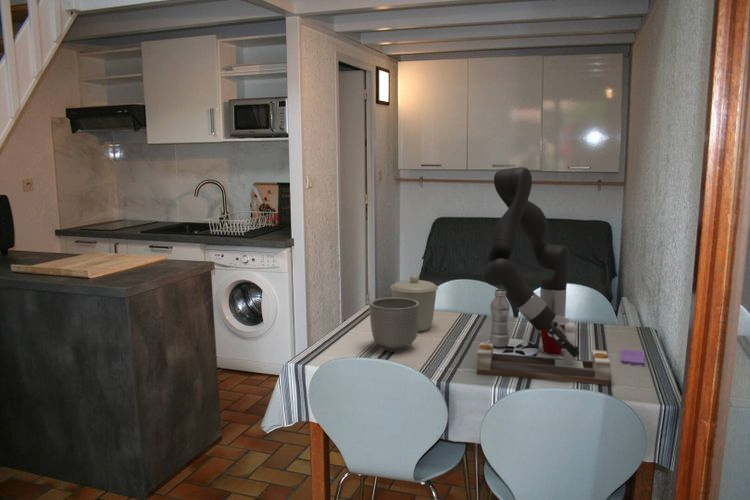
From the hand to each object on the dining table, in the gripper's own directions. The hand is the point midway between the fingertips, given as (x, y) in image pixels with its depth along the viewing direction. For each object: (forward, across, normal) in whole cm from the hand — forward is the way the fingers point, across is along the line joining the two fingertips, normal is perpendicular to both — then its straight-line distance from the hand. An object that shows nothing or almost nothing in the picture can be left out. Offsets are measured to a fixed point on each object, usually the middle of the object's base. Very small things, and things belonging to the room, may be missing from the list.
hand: (576, 353), depth 185 cm
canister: (-35, +38, +45) cm, 69 cm away
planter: (-37, +13, +47) cm, 61 cm away
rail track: (-2, 0, +12) cm, 12 cm away
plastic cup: (+1, +21, +9) cm, 23 cm away
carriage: (+2, 0, +5) cm, 6 cm away
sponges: (+19, +20, -8) cm, 29 cm away
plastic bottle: (-12, +23, +22) cm, 34 cm away
